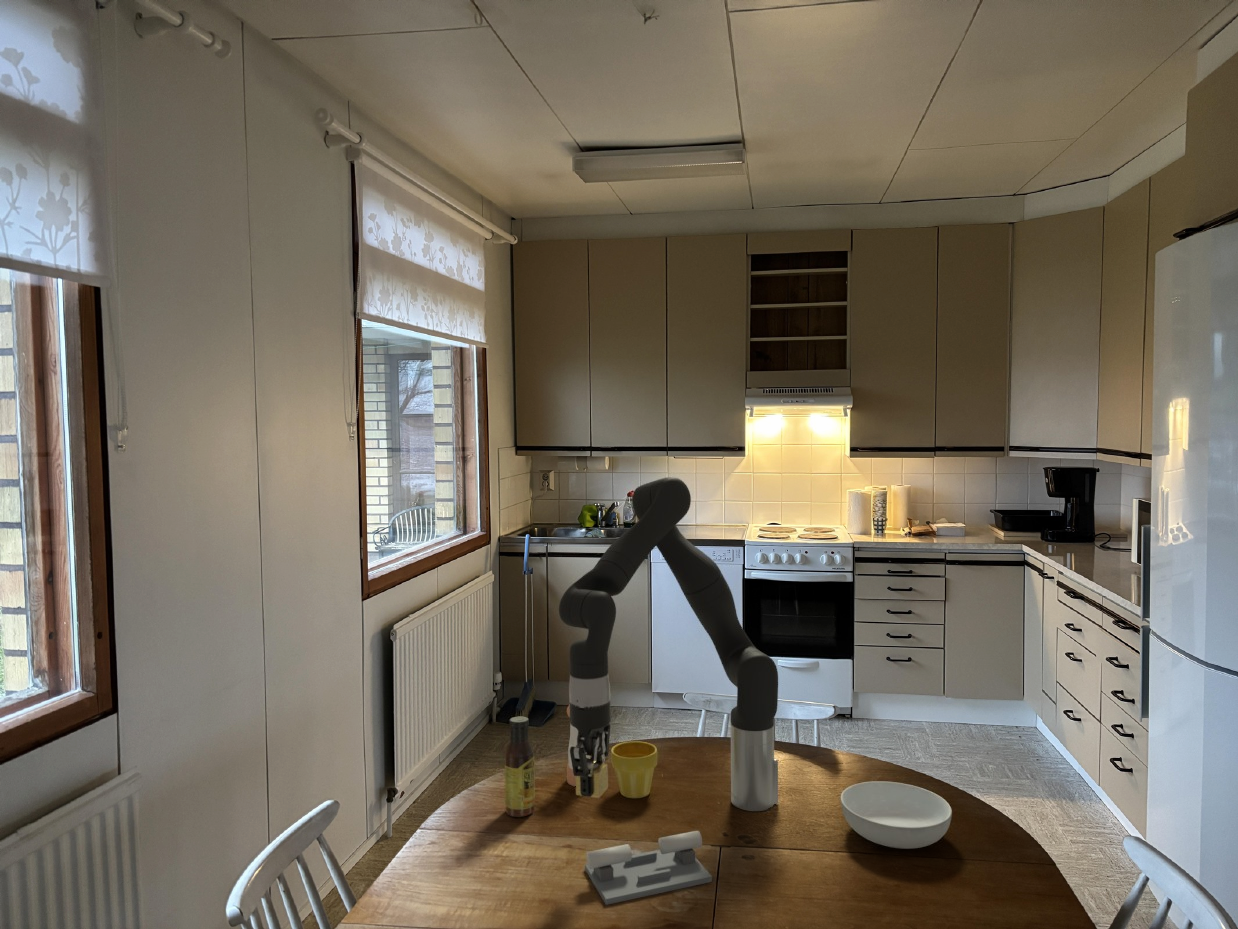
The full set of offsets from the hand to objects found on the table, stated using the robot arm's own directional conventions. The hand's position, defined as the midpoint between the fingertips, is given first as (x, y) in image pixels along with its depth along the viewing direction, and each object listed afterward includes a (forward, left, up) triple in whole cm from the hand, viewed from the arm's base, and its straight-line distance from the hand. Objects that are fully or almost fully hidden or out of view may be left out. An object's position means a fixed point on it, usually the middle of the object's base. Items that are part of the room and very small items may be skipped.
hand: (592, 789), depth 151 cm
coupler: (0, 0, 0) cm, 0 cm away
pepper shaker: (-9, -37, -15) cm, 41 cm away
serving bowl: (-59, +10, -15) cm, 62 cm away
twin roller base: (-8, +6, -15) cm, 18 cm away
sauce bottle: (+8, -27, -15) cm, 32 cm away
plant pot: (-18, -27, -15) cm, 36 cm away
